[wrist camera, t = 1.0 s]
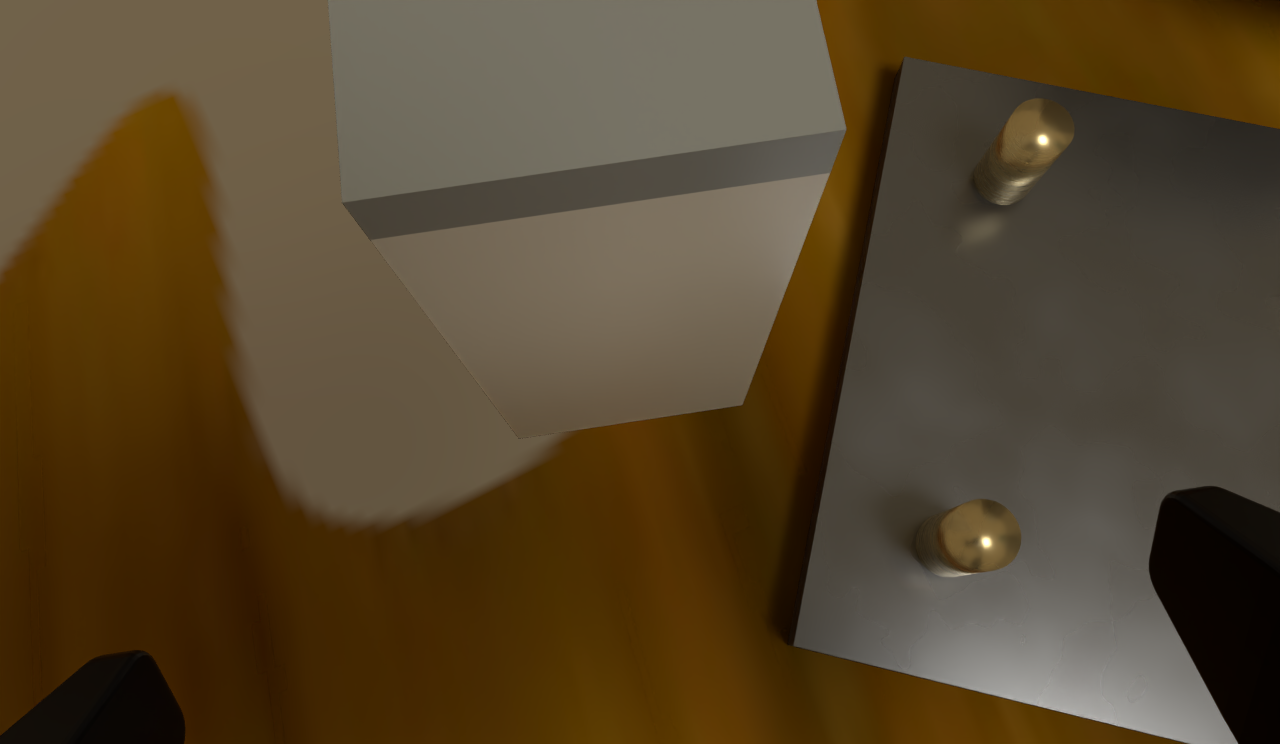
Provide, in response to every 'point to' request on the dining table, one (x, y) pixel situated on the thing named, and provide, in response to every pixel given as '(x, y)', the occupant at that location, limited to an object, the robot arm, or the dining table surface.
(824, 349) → the dining table surface
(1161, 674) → the plate
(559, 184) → the module box
